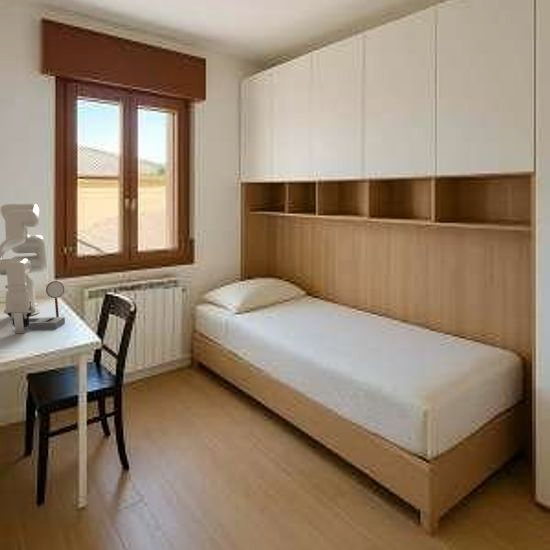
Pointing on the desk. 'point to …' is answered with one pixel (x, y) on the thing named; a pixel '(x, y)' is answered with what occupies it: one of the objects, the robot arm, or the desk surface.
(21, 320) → the square peg
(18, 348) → the desk surface
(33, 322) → the bore block
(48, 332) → the desk surface
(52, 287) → the magnifying glass
